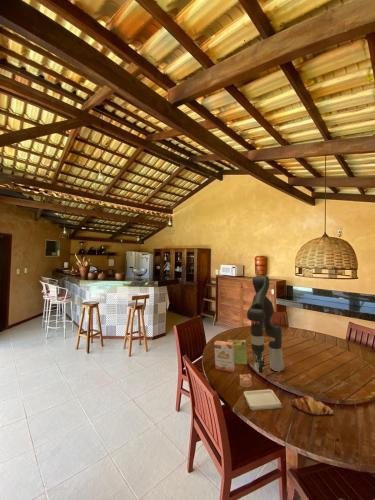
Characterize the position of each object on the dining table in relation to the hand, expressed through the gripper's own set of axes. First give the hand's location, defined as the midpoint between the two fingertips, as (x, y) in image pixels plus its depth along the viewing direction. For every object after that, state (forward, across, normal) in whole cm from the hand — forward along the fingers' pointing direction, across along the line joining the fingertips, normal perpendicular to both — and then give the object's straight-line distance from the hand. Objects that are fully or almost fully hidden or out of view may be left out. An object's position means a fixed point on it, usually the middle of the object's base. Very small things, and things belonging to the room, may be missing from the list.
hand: (259, 370), depth 139 cm
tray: (+19, 0, 0) cm, 19 cm away
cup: (+19, +19, +4) cm, 27 cm away
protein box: (+19, +52, +1) cm, 55 cm away
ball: (-2, 0, 0) cm, 2 cm away
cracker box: (+19, +40, +14) cm, 46 cm away
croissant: (+19, -10, -25) cm, 33 cm away
